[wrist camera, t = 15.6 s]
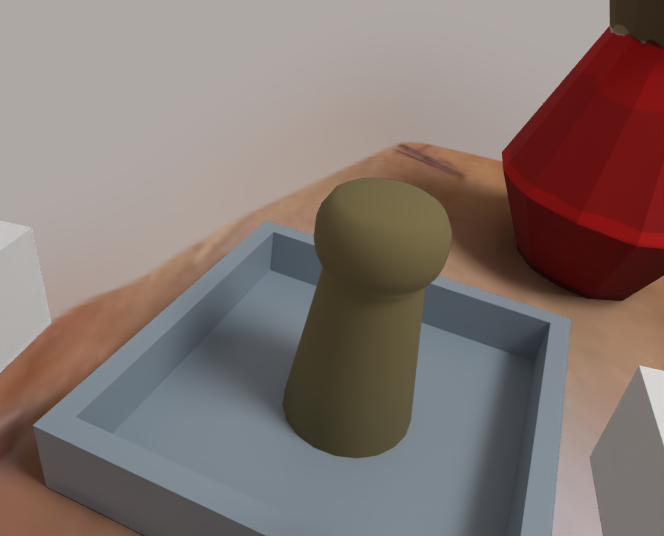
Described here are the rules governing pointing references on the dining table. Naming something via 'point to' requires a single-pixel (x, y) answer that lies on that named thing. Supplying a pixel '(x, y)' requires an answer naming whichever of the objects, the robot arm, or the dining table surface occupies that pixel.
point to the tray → (279, 437)
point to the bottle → (597, 164)
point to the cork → (366, 316)
